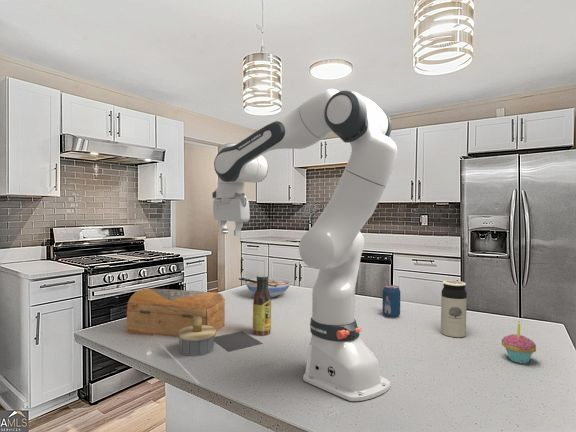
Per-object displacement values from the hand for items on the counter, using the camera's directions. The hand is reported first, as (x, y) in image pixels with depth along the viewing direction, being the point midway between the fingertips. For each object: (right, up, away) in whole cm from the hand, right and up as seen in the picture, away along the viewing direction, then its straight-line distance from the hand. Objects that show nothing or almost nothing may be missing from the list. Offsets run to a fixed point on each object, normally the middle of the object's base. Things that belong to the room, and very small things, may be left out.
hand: (230, 234), depth 125 cm
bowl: (-8, -34, -12) cm, 37 cm away
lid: (-8, -29, -12) cm, 33 cm away
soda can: (+61, -34, +25) cm, 74 cm away
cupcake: (+86, -36, -17) cm, 94 cm away
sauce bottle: (+10, -34, +3) cm, 36 cm away
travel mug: (+77, -35, +5) cm, 84 cm away
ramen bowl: (+9, -33, +57) cm, 66 cm away
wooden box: (-20, -34, +7) cm, 40 cm away
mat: (+2, -34, -5) cm, 35 cm away
